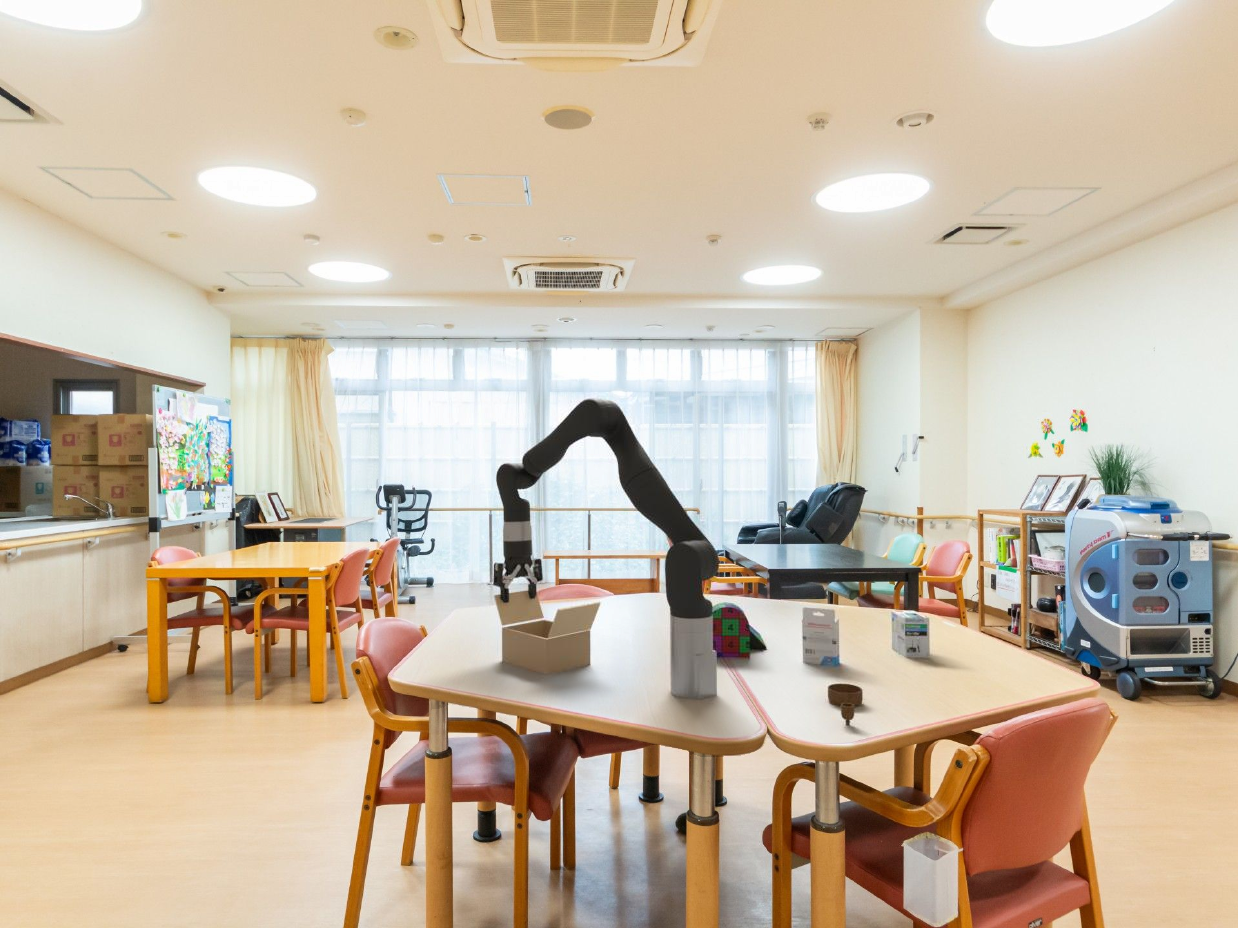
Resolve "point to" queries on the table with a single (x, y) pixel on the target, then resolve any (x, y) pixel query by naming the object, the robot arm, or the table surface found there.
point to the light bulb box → (910, 634)
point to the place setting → (845, 699)
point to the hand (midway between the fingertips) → (519, 600)
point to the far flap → (518, 608)
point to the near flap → (574, 619)
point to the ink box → (820, 637)
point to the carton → (544, 647)
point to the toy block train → (733, 632)
